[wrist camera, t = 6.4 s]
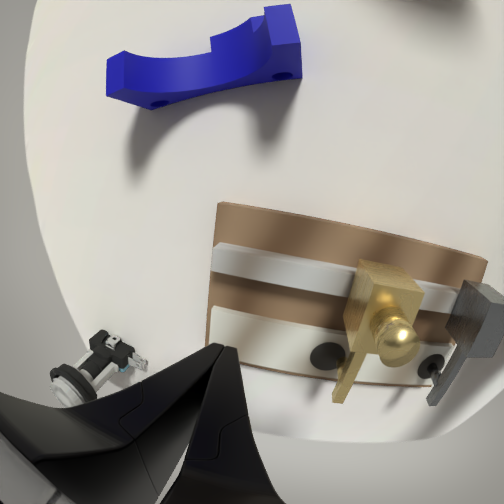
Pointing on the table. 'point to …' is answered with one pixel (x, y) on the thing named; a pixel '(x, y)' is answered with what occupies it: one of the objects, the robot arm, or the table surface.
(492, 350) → the fixed leg
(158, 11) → the table surface
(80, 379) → the push button
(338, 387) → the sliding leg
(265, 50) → the cable clip
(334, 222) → the board
